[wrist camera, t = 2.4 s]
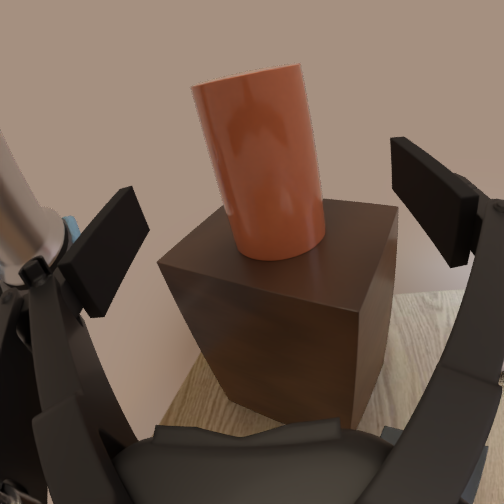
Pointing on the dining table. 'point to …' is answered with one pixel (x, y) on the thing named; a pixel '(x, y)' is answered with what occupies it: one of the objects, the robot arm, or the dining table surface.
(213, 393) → the dining table surface
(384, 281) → the stand
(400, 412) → the dining table surface
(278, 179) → the orange cylinder
